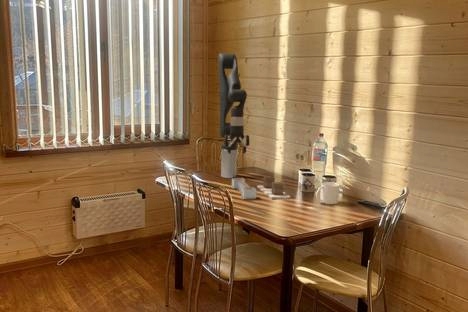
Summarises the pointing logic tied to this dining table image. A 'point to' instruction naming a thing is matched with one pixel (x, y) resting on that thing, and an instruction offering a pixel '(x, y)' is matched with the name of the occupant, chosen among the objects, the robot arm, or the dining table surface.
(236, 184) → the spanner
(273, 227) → the dining table surface
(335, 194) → the mug
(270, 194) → the peg rack
